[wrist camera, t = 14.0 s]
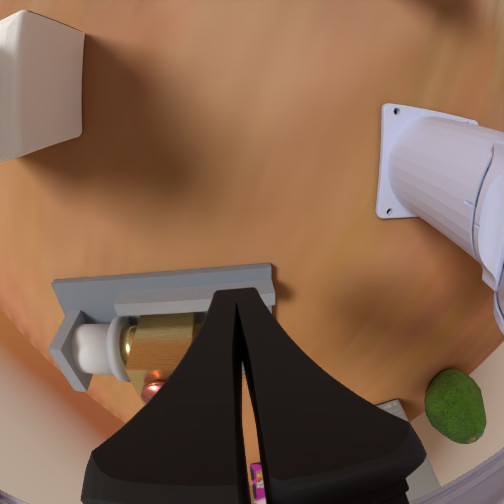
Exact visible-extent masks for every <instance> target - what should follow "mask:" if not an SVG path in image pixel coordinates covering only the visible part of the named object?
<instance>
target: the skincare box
mask: <svg viewBox="0 0 504 504" xmlns="http://www.w3.org/2000/svg"><path fill="white" fill-rule="evenodd" d="M377 407H379V408H381V409H383V410H385V411H387V412H389V413H391V414H393V415H395V416H397V417H399V418H401V419H404V420H406V421H408V422H409V420H408V418H407V416H406V414H405V412H404V410H403V408H402V406H401V404H400V402H399V400H398V399H397V400H393V401H390V402H387V403H384V404H381V405H377ZM409 423H410V422H409ZM406 480H407V483H408V486H409V490H408V491H407V492H405V493H406V495H407V498H408V501H409V502H411V501H413V500H415V499H417V498H419V497H422V496H424V495H426V494H428V493H430V492H432V491H434V490H436V489H438V488H440V484H439V482H438V480H437V478H436V476H435V473H434V471H433V469H432V467H431V465H430V463H429V460H428V458H427V456H426V458H425V460H424V462H423V463H422V464H421V465H420V466H419V467H418V468H417V469H416V470H415V471H414V472H413V473H412V474H410V475H409V476H408V477H407V478H406Z"/></svg>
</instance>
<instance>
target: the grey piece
mask: <svg viewBox="0 0 504 504" xmlns="http://www.w3.org/2000/svg"><path fill="white" fill-rule="evenodd" d="M51 284H52V287H53V289H54V291H55V294H56V296H57V298H58V301H59V303H60V305H61V307H62V310H63V312H64V314H65V316H66V317H65V318H64V320H63V322H62V324H61V326H60V327H59V329H58V331H57V333H56V335H55V337H54V339H53V340H52V342H51V344H50V346H49V348H48V350H49V352H50V353H51V355H52V357H53V358H54V360H55V361H56V363H57V365H58V366H59V368H60V369H61V371H62V372H63V374H64V375H65V377H66V378H67V380H68V381H69V383H70V384H71V385H72V387H73V388H74V390H75V391H84V392H87V390H88V387H89V384H90V381H91V378H92V375H93V374H106V375H114V376H115V377H116V379H117V380H119V381H121V382H131V380H130V378H129V376H128V374H127V373H126V371H125V368H126V366H125V365H124V363H123V361H122V358H121V354H120V348H119V338H120V333H121V330H122V328H123V327H124V326H129V325H138V322H139V319H140V315H151V314H170V313H187V312H196V315H197V320H198V322H203V320H204V318H205V316H206V313H207V311H208V309H209V306H210V304H211V301H212V298H213V294H214V293H215V292H216V291H217V290H226V289H238V288H249V287H254V288H256V289H257V290H258V292H259V294H260V296H261V298H262V300H263V302H264V303H265V305H266V306H267V308H268V309H269V311H270V312H271V314H272V305H275V290H274V287H273V283H272V280H271V264H270V263H261V264H250V265H238V266H227V267H215V268H203V269H191V270H179V271H166V272H153V273H140V274H127V275H113V276H99V277H85V278H71V279H56V280H54V281H53V282H52V283H51ZM242 374H245V371H244V366H243V361H242Z"/></svg>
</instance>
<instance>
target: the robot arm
mask: <svg viewBox="0 0 504 504" xmlns="http://www.w3.org/2000/svg"><path fill="white" fill-rule="evenodd" d="M395 108H396V109H397V114H396V115H395V114H394V109H395ZM388 209H390V212H389V213H387V210H388ZM376 215H377V216H378V217H380V218H382V219H384V218H405V217H420V218H422V219H423V220H425V221H426V222H427V223H429V224H430V225H431V226H433V227H434V228H436V229H437V230H438V231H440V232H441V233H442V234H444V235H445V236H446V237H448V238H449V239H450V240H451V241H453V242H454V243H455V244H457V245H458V246H459V247H460V248H462V249H463V250H464V251H465V252H467V253H468V254H469V255H470V256H472V257H473V258H474V259H475V260H476V261H478V262H479V263H480V264H481V266H482V269H483V274H482V280H483V281H484V282H485V283H486V284H487V285H488V286H489V287H491V288H492V289H493V290H494V291H495V293H494V296H493V304H492V308H493V315H494V318H495V321H496V323H497V325H498V327H499V329H500V330H501V332H502V333H503V335H504V132H500V131H497V130H493V129H489V128H486V127H482V126H478V123H477V122H476V121H474V120H470V119H466V118H462V117H458V116H454V115H450V114H446V113H441V112H436V111H432V110H426V109H421V108H416V107H410V106H404V105H397V104H390V103H386V104H384V105H383V107H382V123H381V150H380V167H379V181H378V192H377V202H376ZM242 361H243V366H244V371H245V375H246V380H247V385H248V389H249V394H250V398H251V403H252V407H253V412H254V417H255V422H256V429H257V437H258V445H259V453H260V461H261V469H262V476H263V484H264V492H265V499H266V504H504V448H502V449H501V450H500V451H498V452H497V453H495V454H494V455H493V456H491V457H490V458H488V459H487V460H485V461H484V462H482V463H481V464H479V465H478V466H476V467H475V468H473V469H471V470H470V471H468V472H467V473H465V474H463V475H462V476H460V477H458V478H456V479H455V480H453V481H451V482H449V483H447V484H446V485H444V486H442V487H440V488H438V489H436V490H434V491H432V492H430V493H428V494H426V495H424V496H422V497H419V498H417V499H415V500H413V501H411V502H409V501H408V498H407V495H406V493H405V492H407V491H408V490H409V486H408V483H407V480H406V478H407V477H408V476H409V475H410V474H412V473H413V472H414V471H415V470H416V469H417V468H418V467H419V466H420V465H421V464H422V463H423V462H424V460H425V458H426V455H427V454H426V451H425V449H424V447H423V445H422V443H421V440H420V439H419V437H418V436H417V434H416V432H415V431H414V429H413V428H412V426H411V424H410V423H409V422H408V421H406V420H404V419H401V418H399V417H397V416H395V415H393V414H391V413H389V412H387V411H385V410H383V409H381V408H379V407H377V406H375V405H373V404H372V403H370V402H368V401H367V400H365V399H363V398H362V397H360V396H358V395H357V394H355V393H354V392H353V391H351V390H350V389H348V388H347V387H345V386H344V385H343V384H341V383H340V382H338V381H337V380H336V379H334V378H333V377H332V376H330V375H329V374H328V373H327V372H325V371H324V370H323V369H322V368H321V367H319V366H318V365H317V364H316V363H315V362H314V361H313V360H312V359H311V358H309V357H308V356H307V355H306V354H305V353H304V352H303V351H302V350H301V349H300V348H299V347H298V346H297V344H296V343H295V342H294V341H293V340H292V339H291V338H290V337H289V336H288V334H287V333H286V332H285V331H284V330H283V328H282V327H281V326H280V324H279V323H278V322H277V321H276V319H275V318H274V317H273V315H272V314H271V312H270V311H269V309H268V308H267V306H266V305H265V303H264V302H263V300H262V298H261V296H260V294H259V292H258V290H257V289H256V288H254V287H249V288H238V289H226V290H217V291H216V292H215V293H214V294H213V298H212V301H211V304H210V306H209V309H208V311H207V313H206V316H205V318H204V320H203V322H202V324H201V326H200V328H199V330H198V332H197V334H196V336H195V338H194V339H193V341H192V343H191V345H190V346H189V348H188V350H187V351H186V353H185V355H184V356H183V358H182V359H181V361H180V362H179V364H178V365H177V367H176V368H175V370H174V371H173V372H172V374H171V375H170V376H169V378H168V379H167V380H166V381H165V383H164V384H163V385H162V386H161V388H160V389H159V390H158V391H157V392H156V394H155V395H154V396H153V397H152V398H151V399H150V400H149V402H148V403H147V404H146V405H145V406H144V407H143V408H142V409H141V410H140V411H139V412H138V413H137V414H136V415H135V416H134V417H133V418H132V419H131V420H129V421H128V422H127V423H126V424H125V425H124V426H123V427H122V428H121V429H120V430H118V431H117V432H116V433H115V434H114V435H112V436H111V437H110V438H108V439H107V440H106V441H105V442H104V443H102V444H101V445H100V446H99V447H97V448H96V449H94V450H93V451H92V453H91V456H90V459H89V461H88V464H87V467H86V471H85V476H84V482H83V488H82V494H81V501H82V503H83V504H251V497H250V489H249V481H248V473H247V464H246V456H245V446H244V437H243V427H242ZM0 504H28V503H26V502H24V501H21V500H19V499H17V498H15V497H13V496H11V495H9V494H7V493H5V492H3V491H1V490H0Z"/></svg>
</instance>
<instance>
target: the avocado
mask: <svg viewBox="0 0 504 504" xmlns="http://www.w3.org/2000/svg"><path fill="white" fill-rule="evenodd" d="M425 412H426V415H427V417H428V419H429V421H430V423H431V425H432V426H433V427H434V428H435V429H437V430H438V431H439V432H440V433H442V434H443V435H444V436H446V437H447V438H449V439H450V440H452V441H454V442H457V443H460V444H469V443H473V442H476V441H477V440H478V439H479V438H480V437H481V436H482V434H483V432H484V429H485V426H486V414H485V409H484V404H483V399H482V394H481V390H480V388H479V387H478V385H477V384H476V383H475V381H474V380H473V379H472V378H471V377H469V376H468V375H467V374H466V373H464V372H462V371H460V370H456V369H450V370H446V371H444V372H441V373H439V374H438V376H437V377H436V378H435V379H434V380H433V381H432V383H431V385H430V386H429V388H428V389H427V392H426V395H425Z"/></svg>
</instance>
